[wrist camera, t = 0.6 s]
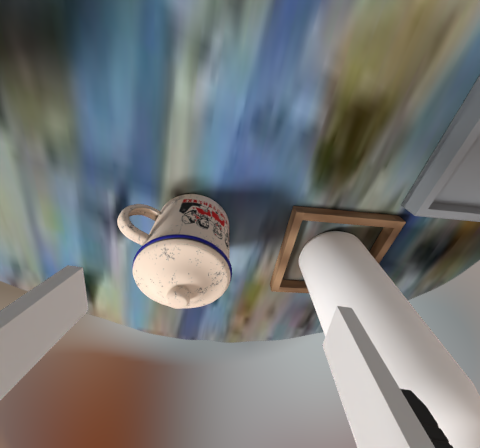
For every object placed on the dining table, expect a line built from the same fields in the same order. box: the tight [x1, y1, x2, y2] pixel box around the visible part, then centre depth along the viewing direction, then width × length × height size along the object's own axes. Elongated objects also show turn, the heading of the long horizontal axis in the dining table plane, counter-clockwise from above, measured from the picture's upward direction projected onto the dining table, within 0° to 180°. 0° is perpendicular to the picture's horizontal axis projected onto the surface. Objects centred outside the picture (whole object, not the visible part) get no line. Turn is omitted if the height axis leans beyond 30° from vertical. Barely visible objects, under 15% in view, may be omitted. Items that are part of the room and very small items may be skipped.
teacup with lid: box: [117, 194, 232, 309], centre depth 22 cm, size 12×9×12 cm
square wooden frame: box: [270, 206, 406, 293], centre depth 31 cm, size 14×14×2 cm
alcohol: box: [299, 231, 480, 448], centre depth 19 cm, size 9×9×30 cm
